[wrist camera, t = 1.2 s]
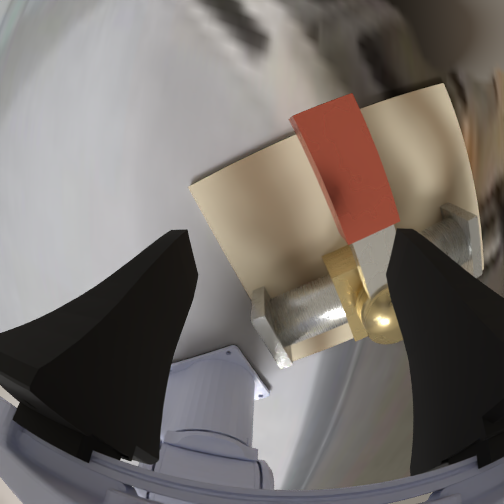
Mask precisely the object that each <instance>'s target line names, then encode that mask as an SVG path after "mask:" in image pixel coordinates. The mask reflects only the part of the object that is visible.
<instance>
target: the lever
mask: <svg viewBox="0 0 504 504" xmlns="http://www.w3.org/2000/svg"><path fill="white" fill-rule="evenodd" d="M289 121H290V123H291V125H292V127H293V129H294V131H295V133H296V135H297V137H298V139H299V141H300V143H301V145H302V147H303V150H304V152H305V154H306V156H307V158H308V160H309V163H310V165H311V167H312V169H313V171H314V174H315V176H316V178H317V181H318V183H319V185H320V187H321V190H322V192H323V194H324V197H325V199H326V202H327V204H328V207H329V209H330V211H331V214H332V216H333V219H334V221H335V224H336V226H337V229H338V232H339V234H340V235H341V236H342V238H343V239H344V240H345V241H346V243H347V244H348V245H349V246H350V248H351V251H352V254H353V257H354V260H355V263H356V265H357V268H358V271H359V274H360V277H361V280H362V284H363V287H362V289H361V290H360V292H359V294H358V297H357V301H356V310H357V313H358V315H359V317H360V320H361V322H362V324H363V326H364V328H365V330H366V332H367V334H368V336H369V337H370V339H371V340H373V341H374V342H376V343H379V344H393V343H396V342H399V341H401V340H403V337H402V334H401V330H400V327H399V324H398V321H397V317H396V314H395V311H394V308H393V305H392V302H391V298H390V293H389V289H388V283H387V278H386V272H387V268H388V264H389V260H390V256H391V252H392V248H393V243H394V239H395V234H396V230H395V227H394V224H395V223H398V222H400V218H399V214H398V211H397V207H396V204H395V201H394V197H393V194H392V191H391V188H390V185H389V182H388V179H387V176H386V173H385V170H384V168H383V165H382V162H381V159H380V157H379V154H378V151H377V149H376V146H375V144H374V141H373V139H372V136H371V134H370V131H369V129H368V127H367V124H366V122H365V120H364V117H363V115H362V113H361V111H360V108H359V106H358V104H357V102H356V100H355V98H354V96H353V94H352V93H351V94H348V95H345V96H342V97H340V98H337V99H334V100H331V101H329V102H326V103H323V104H321V105H318V106H316V107H313V108H311V109H308V110H306V111H303V112H301V113H298V114H296V115H294V116H292V117H291V118H290V119H289Z"/></svg>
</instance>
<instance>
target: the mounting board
mask: <svg viewBox="0 0 504 504" xmlns="http://www.w3.org/2000/svg"><path fill="white" fill-rule="evenodd" d="M360 111H361V113H362V115H363V117H364V120H365V122H366V124H367V127H368V129H369V131H370V134H371V136H372V139H373V141H374V144H375V146H376V149H377V151H378V154H379V157H380V159H381V162H382V165H383V168H384V170H385V173H386V176H387V179H388V182H389V185H390V188H391V191H392V194H393V197H394V201H395V204H396V207H397V211H398V214H399V218H400V222H398V223H395V224H394V227H395V230H397V228H405V229H414V230H415V231H417V232H420V231H422V230H424V229H426V228H428V227H430V226H432V225H434V224H436V223H438V222H440V221H442V215H441V210H440V206H442V205H444V204H446V203H448V202H449V203H451V204H453V205H455V206H458V207H460V208H462V209H464V210H466V211H468V212H471V213H473V214H475V215H477V217H478V225H479V234H480V244H481V259H482V270H483V269H484V262H483V246H482V235H481V225H480V217H479V210H478V203H477V197H476V191H475V186H474V181H473V176H472V171H471V167H470V163H469V159H468V155H467V151H466V147H465V143H464V140H463V136H462V133H461V130H460V127H459V123H458V120H457V117H456V114H455V111H454V109H453V106H452V103H451V100H450V98H449V95H448V93H447V90H446V88H445V85H444V83H441V84H437V85H434V86H430V87H426V88H423V89H419V90H416V91H413V92H409V93H406V94H403V95H400V96H396V97H393V98H390V99H387V100H384V101H381V102H378V103H375V104H372V105H370V106H367V107H364V108H361V109H360ZM188 188H189V190H190V192H191V193H192V195H193V197H194V199H195V201H196V203H197V204H198V206H199V208H200V210H201V212H202V214H203V215H204V217H205V219H206V221H207V223H208V224H209V226H210V228H211V230H212V232H213V234H214V235H215V237H216V239H217V241H218V243H219V244H220V246H221V248H222V250H223V251H224V253H225V255H226V257H227V259H228V260H229V262H230V264H231V266H232V267H233V269H234V271H235V273H236V274H237V276H238V278H239V280H240V282H241V283H242V285H243V287H244V289H245V290H246V292H247V294H248V295H249V297H250V299H251V301H252V294H253V290H256V289H258V288H260V287H263V286H264V287H265V288H266V290H267V292H268V294H269V296H270V298H273V297H275V296H278V295H280V294H283V293H285V292H288V291H290V290H292V289H295V288H297V287H300V286H302V285H304V284H307V283H309V282H311V281H314V280H316V279H318V278H321V277H323V276H325V275H328V271H327V269H326V266H325V264H324V262H323V259H322V257H321V256H324V255H326V254H328V253H330V252H333V251H335V250H337V249H339V248H342V247H344V246H346V245H348V244H347V243H346V241H345V240H344V239H343V238H342V236H341V235H340V234H339V232H338V229H337V226H336V224H335V221H334V219H333V216H332V214H331V211H330V209H329V207H328V204H327V202H326V199H325V197H324V194H323V192H322V190H321V187H320V185H319V183H318V181H317V178H316V176H315V174H314V171H313V169H312V167H311V165H310V163H309V160H308V158H307V156H306V154H305V152H304V150H303V147H302V145H301V143H300V141H299V139H298V137H297V135H296V134H295V135H293V136H291V137H288V138H286V139H284V140H282V141H279V142H277V143H275V144H273V145H271V146H268V147H266V148H264V149H262V150H260V151H258V152H256V153H253V154H251V155H249V156H247V157H245V158H243V159H241V160H239V161H237V162H235V163H233V164H231V165H229V166H227V167H225V168H223V169H221V170H219V171H217V172H215V173H213V174H211V175H209V176H208V177H206V178H204V179H202V180H200V181H198V182H196V183H194V184H193V185H191V186H189V187H188ZM352 338H354V337H353V335H352V332H351V330H350V327H349V325H348V323H346V324H344V325H341V326H339V327H336V328H334V329H332V330H329V331H327V332H324V333H322V334H319V335H317V336H314V337H312V338H309V339H306V340H304V341H301V342H298V343H296V344H293V345H291V351H292V360H293V361H295V360H298V359H301V358H304V357H306V356H309V355H312V354H314V353H317V352H320V351H322V350H325V349H327V348H330V347H333V346H335V345H338V344H340V343H342V342H345V341H347V340H350V339H352Z"/></svg>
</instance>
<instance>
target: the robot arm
mask: <svg viewBox="0 0 504 504" xmlns="http://www.w3.org/2000/svg"><path fill="white" fill-rule="evenodd" d="M386 278H387V283H388V289H389V293H390V298H391V302H392V305H393V308H394V311H395V314H396V317H397V321H398V324H399V327H400V330H401V334H402V337H403V340H404V344H405V347H406V351H407V355H408V360H409V366H410V374H411V382H412V393H413V416H414V422H413V446H412V457H411V464H410V473H411V476H410V477H406V478H402V479H397V480H392V481H387V482H381V483H376V484H369V485H362V486H354V487H345V488H334V489H318V490H274V478H273V473H272V470H271V469H270V467H269V466H268V464H267V463H266V462H265V461H264V460H258V449H256V448H252V434H253V412H254V400H258V399H261V398H265V397H268V396H269V395H270V391H269V390H268V389H267V387H266V386H265V384H264V383H263V382H262V380H261V379H260V378H259V376H258V375H257V373H256V372H255V371H254V369H253V368H252V366H251V365H250V364H249V362H248V361H247V359H246V358H245V357H244V355H243V354H242V352H241V351H240V349H239V348H238V347H237V346H235V345H231V346H228V347H225V348H222V349H219V350H216V351H213V352H209V353H206V354H203V355H200V356H196V357H193V358H190V359H186V360H183V361H180V362H176V363H173V364H171V363H172V359H173V356H174V352H175V349H176V346H177V343H178V340H179V338H180V335H181V332H182V329H183V326H184V324H185V321H186V318H187V315H188V312H189V310H190V307H191V304H192V301H193V298H194V293H195V289H196V284H197V279H198V272H197V268H196V264H195V260H194V256H193V252H192V248H191V243H190V239H189V235H188V231H187V230H171V231H169V232H167V233H166V234H164V235H163V236H162V237H160V238H159V239H158V240H156V241H155V242H154V243H152V244H151V245H150V246H148V247H147V248H146V249H145V250H143V251H142V252H141V253H140V254H138V255H137V256H136V257H134V258H133V259H132V260H131V261H129V262H128V263H127V264H125V265H124V266H123V267H121V268H120V269H119V270H117V271H116V272H115V273H113V274H112V275H111V276H109V277H108V278H107V279H105V280H104V281H102V282H101V283H99V284H98V285H97V286H95V287H93V288H92V289H90V290H89V291H87V292H86V293H84V294H83V295H81V296H79V297H78V298H76V299H74V300H72V301H70V302H69V303H67V304H65V305H63V306H62V307H60V308H58V309H56V310H54V311H52V312H50V313H48V314H46V315H44V316H42V317H40V318H38V319H36V320H33V321H31V322H29V323H26V324H24V325H21V326H19V327H16V328H13V329H11V330H8V331H5V332H2V333H0V385H1V386H2V387H3V388H4V389H5V390H6V391H7V392H9V393H10V394H11V395H12V396H13V397H14V398H15V399H17V400H18V401H19V402H20V403H19V405H18V408H16V407H15V406H13V405H12V404H11V403H9V402H8V401H6V400H5V399H3V398H2V397H0V477H1V478H2V480H3V481H4V482H5V483H6V484H7V486H8V487H9V488H10V489H11V490H12V492H13V493H14V494H15V495H16V496H17V497H18V498H19V500H20V501H21V502H22V503H23V504H388V503H392V502H397V501H401V500H405V499H409V498H413V497H417V496H420V495H424V494H427V493H431V492H433V493H432V494H431V495H430V497H429V499H428V500H427V501H426V502H422V503H418V504H504V298H503V297H501V296H500V295H498V294H497V293H496V292H494V291H493V290H491V289H490V288H488V287H487V286H486V285H484V284H483V283H482V282H480V281H479V280H478V279H476V278H475V277H474V276H473V275H471V274H470V273H469V272H468V271H466V270H465V269H464V268H462V267H461V266H460V265H459V264H458V263H456V262H455V261H454V260H453V259H451V258H450V257H449V256H448V255H447V254H445V253H444V252H443V251H442V250H440V249H439V248H438V247H437V246H435V245H434V244H433V243H432V242H430V241H429V240H428V239H427V238H425V237H424V236H423V235H421V234H420V233H418V232H417V231H415V230H414V229H405V228H397V230H396V234H395V239H394V243H393V248H392V252H391V256H390V260H389V264H388V268H387V272H386ZM227 351H230V352H227ZM170 369H171V370H170ZM260 394H262V395H260ZM121 458H122V459H125V460H128V461H132V460H135V461H138V462H139V465H138V466H135V465H131V464H128V463H125V462H123V461H120V459H121ZM132 486H133V487H132ZM434 491H435V492H434Z"/></svg>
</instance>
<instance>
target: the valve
mask: <svg viewBox="0 0 504 504" xmlns="http://www.w3.org/2000/svg"><path fill="white" fill-rule="evenodd" d="M440 210H441V215H442V221H440V222H438V223H436V224H434V225H432V226H430V227H428V228H426V229H424V230H422V231H420V232H418V233H420V234H421V235H423V236H424V237H425V238H427V239H428V240H429V241H430V242H432V243H433V244H434V245H435V246H437V247H438V248H439V249H440V250H442V251H443V252H444V253H445V254H447V255H448V256H449V257H450V258H451V259H453V260H454V261H455V262H456V263H458V264H459V265H460V266H461V267H462V268H464V269H465V270H466V271H468V272H469V273H470V274H471V275H473V276H474V277H475V278H477V277H479V276H480V275H482V259H481V244H480V234H479V225H478V217H477V215H475V214H473V213H471V212H468V211H466V210H464V209H462V208H460V207H458V206H455V205H453V204H451V203H449V202H448V203H446V204H444V205H442V206H440ZM321 257H322V259H323V262H324V264H325V266H326V269H327V271H328V275H325V276H323V277H321V278H318V279H316V280H314V281H311V282H309V283H307V284H304V285H302V286H300V287H297V288H295V289H292V290H290V291H288V292H285V293H283V294H280V295H278V296H275V297H273V298H270V296H269V294H268V292H267V290H266V288H265V287H264V286H263V287H260V288H258V289H256V290H253V294H252V308H251V322H252V324H253V325H254V327H255V329H256V330H257V332H258V334H259V335H260V337H261V338H262V340H263V342H264V343H265V345H266V346H267V348H268V350H269V351H270V353H271V354H272V356H273V358H274V359H275V361H276V362H277V364H278V366H279V367H280V369H283V368H286V367H289V366H292V365H293V360H292V351H291V345H293V344H296V343H298V342H301V341H304V340H306V339H309V338H312V337H314V336H317V335H319V334H322V333H324V332H327V331H329V330H332V329H334V328H336V327H339V326H341V325H344V324H346V323H348V325H349V327H350V330H351V332H352V335H353V337H354V340H355V341H358V340H360V339H362V338H365V337H367V336H368V334H367V332H366V330H365V328H364V326H363V324H362V322H361V320H360V317H359V315H358V313H357V310H356V301H357V297H358V294H359V292H360V290H361V289H362V287H363V284H362V280H361V277H360V274H359V271H358V268H357V265H356V263H355V260H354V257H353V254H352V251H351V248H350V246H349V245H346V246H344V247H342V248H339V249H337V250H335V251H333V252H330V253H328V254H326V255H324V256H321Z"/></svg>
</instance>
